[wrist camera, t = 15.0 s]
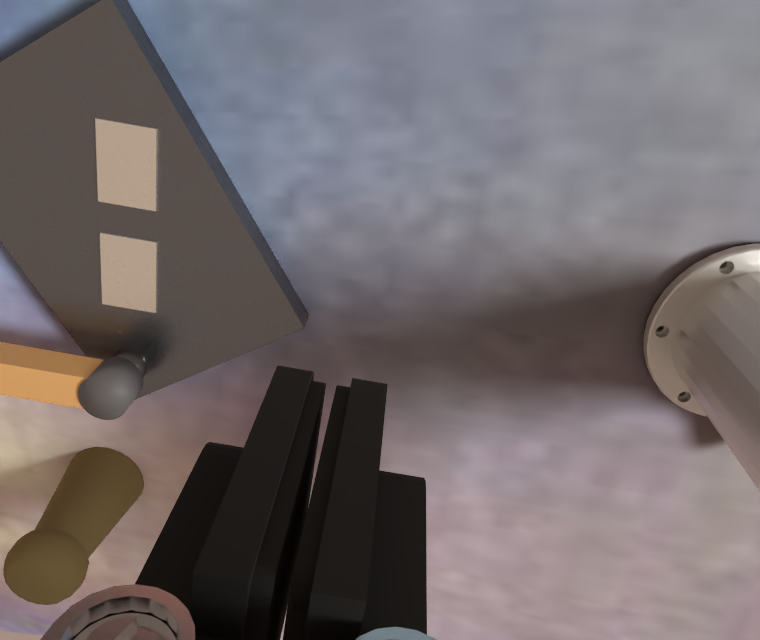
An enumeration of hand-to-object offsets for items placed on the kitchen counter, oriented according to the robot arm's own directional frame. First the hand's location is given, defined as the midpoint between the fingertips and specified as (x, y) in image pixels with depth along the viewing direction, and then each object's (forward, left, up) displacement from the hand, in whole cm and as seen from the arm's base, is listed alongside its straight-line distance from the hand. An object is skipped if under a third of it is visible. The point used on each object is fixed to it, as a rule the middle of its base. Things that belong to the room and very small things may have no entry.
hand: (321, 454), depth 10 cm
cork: (-15, +33, -32) cm, 49 cm away
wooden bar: (-1, +31, -28) cm, 42 cm away
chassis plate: (+2, +19, -32) cm, 37 cm away
